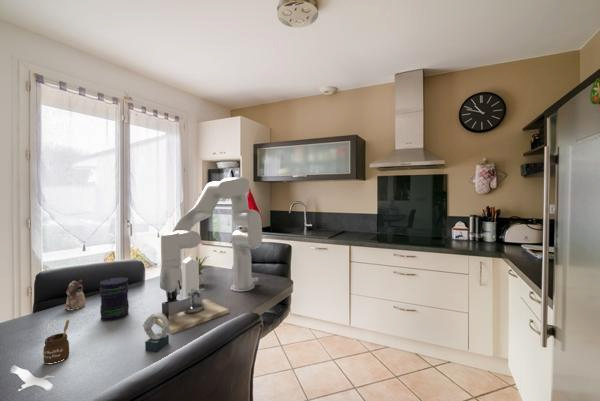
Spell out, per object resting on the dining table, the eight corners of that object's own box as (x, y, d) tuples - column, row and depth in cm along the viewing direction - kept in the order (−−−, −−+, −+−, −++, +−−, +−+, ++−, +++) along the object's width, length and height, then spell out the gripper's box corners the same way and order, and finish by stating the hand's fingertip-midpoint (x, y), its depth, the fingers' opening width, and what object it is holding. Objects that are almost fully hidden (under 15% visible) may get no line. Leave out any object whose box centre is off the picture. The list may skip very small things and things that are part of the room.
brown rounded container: (51, 355, 87) (50, 317, 87) (74, 352, 89) (73, 315, 88) (38, 366, 81) (37, 326, 81) (63, 363, 83) (62, 324, 83)
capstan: (199, 303, 123) (199, 286, 123) (209, 308, 118) (209, 290, 118) (158, 317, 110) (157, 297, 110) (166, 323, 105) (166, 303, 104)
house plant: (201, 278, 167) (201, 251, 166) (216, 282, 159) (216, 254, 158) (179, 284, 155) (179, 255, 155) (194, 289, 147) (193, 259, 147)
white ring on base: (153, 341, 95) (152, 309, 95) (173, 344, 93) (172, 311, 93) (140, 350, 90) (139, 316, 90) (161, 353, 88) (160, 319, 88)
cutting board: (206, 301, 130) (206, 296, 130) (228, 312, 118) (228, 307, 118) (151, 319, 112) (151, 313, 112) (171, 334, 100) (171, 327, 100)
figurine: (63, 307, 124) (63, 281, 124) (83, 303, 129) (83, 277, 129) (66, 312, 119) (65, 284, 119) (86, 307, 125) (86, 280, 124)
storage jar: (134, 312, 118) (133, 278, 118) (112, 323, 109) (111, 285, 109) (117, 309, 122) (116, 276, 121) (94, 319, 112) (93, 282, 112)
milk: (186, 304, 128) (185, 256, 127) (182, 300, 132) (181, 254, 132) (199, 301, 131) (198, 254, 130) (195, 297, 136) (194, 252, 135)
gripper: (153, 261, 117) (154, 304, 117) (172, 267, 108) (172, 313, 108) (170, 258, 123) (171, 299, 123) (189, 263, 114) (190, 307, 114)
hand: (172, 306), depth 116 cm, fingers closed
